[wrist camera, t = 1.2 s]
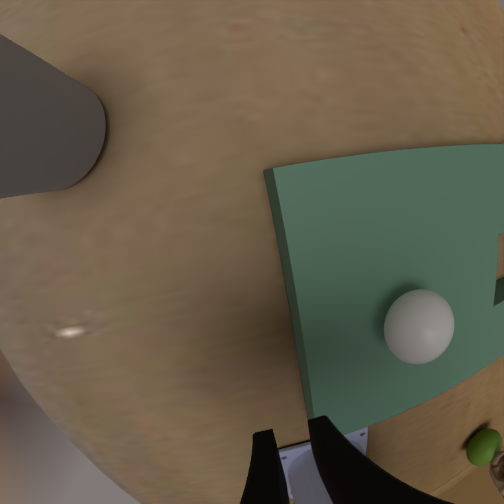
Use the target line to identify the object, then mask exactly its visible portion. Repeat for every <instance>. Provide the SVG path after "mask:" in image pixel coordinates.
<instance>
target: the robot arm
mask: <svg viewBox="0 0 504 504" xmlns="http://www.w3.org/2000/svg"><path fill="white" fill-rule="evenodd" d="M308 427H309V434H310V442H306V443H303V444H299V445H295V446H291V447H287V448H283V449H280V450H278V448H277V444H276V440H275V437H274V433H273V429H269V430H265V431H260V432H255V433H254V434H253V445H252V456H251V462H250V468H249V472H248V477H247V481H246V485H245V489H244V492H243V495H242V498H241V502H240V504H290V503H289V497H290V498H293V499H294V503H295V504H454V503H450V502H447V501H444V500H441V499H438V498H436V497H433V496H431V495H429V494H426V493H424V492H422V491H419V490H417V489H415V488H413V487H411V486H409V485H407V484H406V483H404V482H402V481H400V480H399V479H397V478H395V477H394V476H392V475H391V474H389V473H388V472H386V471H385V470H383V469H382V468H380V467H379V466H378V465H376V464H375V463H374V462H372V461H371V460H370V459H369V458H367V456H366V449H367V436H368V427H366V428H363V429H360V430H358V431H355V432H352V433H349V434H346V435H343V434H342V433H341V432H340V431H339V430H338V429H337V428H336V427H335V425H334V424H333V423H332V422H331V420H330V419H329V418H328V416H326V415H323V416H319V417H316V418H312V419H309V420H308ZM288 494H289V496H288Z"/></svg>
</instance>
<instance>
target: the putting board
mask: <svg viewBox="0 0 504 504" xmlns="http://www.w3.org/2000/svg"><path fill="white" fill-rule="evenodd" d="M263 171H264V176H265V181H266V186H267V191H268V196H269V201H270V206H271V211H272V216H273V221H274V226H275V231H276V237H277V242H278V247H279V253H280V258H281V263H282V269H283V274H284V280H285V285H286V291H287V296H288V302H289V308H290V313H291V319H292V325H293V331H294V337H295V343H296V349H297V355H298V361H299V367H300V374H301V380H302V386H303V393H304V399H305V406H306V412H307V418H308V420H309V419H312V418H316V417H319V416H323V415H326V416H328V418H329V419H330V420H331V422H332V423H333V424H334V425H335V427H336V428H337V429H338V430H339V431H340V432H341V433H342V434H343V435H346V434H349V433H352V432H355V431H358V430H360V429H363V428H366V427H368V426H371V425H374V424H376V423H379V422H381V421H383V420H386V419H388V418H391V417H393V416H395V415H398V414H400V413H402V412H404V411H406V410H409V409H411V408H413V407H415V406H417V405H419V404H421V403H423V402H425V401H427V400H429V399H431V398H433V397H435V396H437V395H439V394H441V393H443V392H445V391H446V390H448V389H450V388H452V387H454V386H455V385H457V384H459V383H461V382H462V381H464V380H466V379H467V378H469V377H471V376H472V375H474V374H475V373H477V372H479V371H480V370H482V369H483V368H485V367H486V366H488V365H489V364H491V363H492V362H494V361H495V360H497V359H498V358H500V357H501V356H503V355H504V277H503V278H501V279H499V280H497V281H496V275H497V260H498V234H501V233H504V144H478V145H456V146H440V147H427V148H415V149H404V150H394V151H385V152H376V153H368V154H360V155H352V156H345V157H338V158H331V159H324V160H318V161H312V162H306V163H300V164H294V165H288V166H282V167H277V168H272V169H268V170H263ZM417 289H426V290H430V291H433V292H436V293H438V294H439V295H440V296H442V297H443V298H444V299H445V300H446V301H447V302H448V304H449V306H450V307H451V310H452V312H453V316H454V333H453V336H452V339H451V342H450V344H449V345H448V347H447V348H446V350H445V351H444V352H443V353H442V354H441V355H440V356H439V357H437V358H436V359H434V360H432V361H430V362H427V363H424V364H410V363H406V362H404V361H402V360H400V359H398V358H397V357H396V356H395V355H394V354H393V353H392V352H391V351H390V349H389V348H388V346H387V343H386V341H385V337H384V322H385V318H386V315H387V312H388V310H389V309H390V307H391V305H392V304H393V303H394V302H395V301H396V300H397V299H398V298H399V297H400V296H402V295H403V294H405V293H407V292H409V291H412V290H417Z"/></svg>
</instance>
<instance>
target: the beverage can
mask: <svg viewBox="0 0 504 504" xmlns="http://www.w3.org/2000/svg"><path fill="white" fill-rule="evenodd" d="M105 129H106V122H105V114H104V110H103V107H102V104H101V103H100V101H99V99H98V97H97V96H96V95H95V94H94V93H93V92H92V91H91V90H90V89H88V88H87V87H85V86H83V85H82V84H80V83H79V82H77V81H76V80H74V79H73V78H71V77H70V76H68V75H66V74H65V73H63V72H62V71H60V70H59V69H57V68H55V67H54V66H52V65H51V64H49V63H47V62H46V61H44V60H43V59H41V58H39V57H38V56H36V55H34V54H33V53H31V52H29V51H28V50H26V49H25V48H23V47H21V46H20V45H18V44H16V43H14V42H13V41H11V40H9V39H8V38H6V37H4V36H3V35H1V34H0V198H6V197H13V196H19V195H26V194H33V193H41V192H49V191H57V190H62V189H65V188H68V187H70V186H72V185H74V184H75V183H77V182H78V181H79V180H81V179H82V178H83V177H84V176H85V175H86V174H87V173H88V172H89V170H90V169H91V168H92V166H93V165H94V163H95V162H96V160H97V158H98V156H99V154H100V151H101V149H102V146H103V142H104V137H105Z"/></svg>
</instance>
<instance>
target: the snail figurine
mask: <svg viewBox="0 0 504 504" xmlns="http://www.w3.org/2000/svg"><path fill="white" fill-rule="evenodd" d="M501 447H502V438H501V435H500V434H499V433H498V432H497V431H496V430H494V429H483V430H481V431H479V432H477V433H476V434H475V435H474V436H473V437H472V438H471V440H470V441H469V443H468V446H467V450H466V454H467V458H468V460H469V462H470V463H472V464H473V465H476V466H483V465H486V464H488V463H490V462H491V463H490V475H491V477H492V480H493V482H494V484H495V486H496V487H497V488H498V490H499V493H500V494H502V495H503V494H504V451H500V450H501ZM503 497H504V496H503Z"/></svg>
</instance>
